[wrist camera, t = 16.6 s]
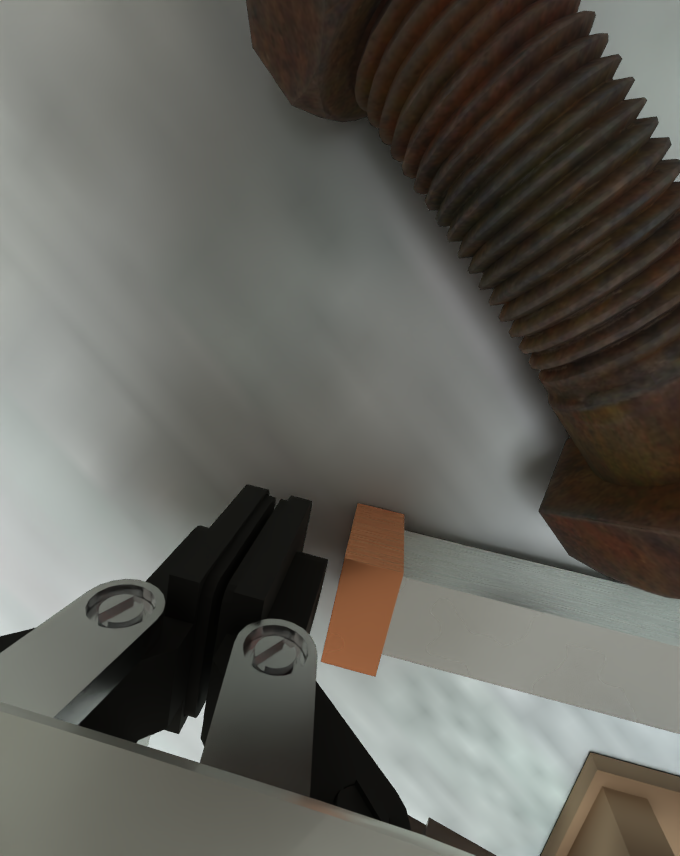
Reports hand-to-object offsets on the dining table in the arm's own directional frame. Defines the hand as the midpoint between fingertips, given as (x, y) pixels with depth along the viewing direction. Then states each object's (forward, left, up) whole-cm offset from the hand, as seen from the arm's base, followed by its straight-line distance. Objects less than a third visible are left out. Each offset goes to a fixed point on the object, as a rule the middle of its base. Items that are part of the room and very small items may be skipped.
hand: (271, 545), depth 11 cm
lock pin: (0, +10, -1) cm, 10 cm away
